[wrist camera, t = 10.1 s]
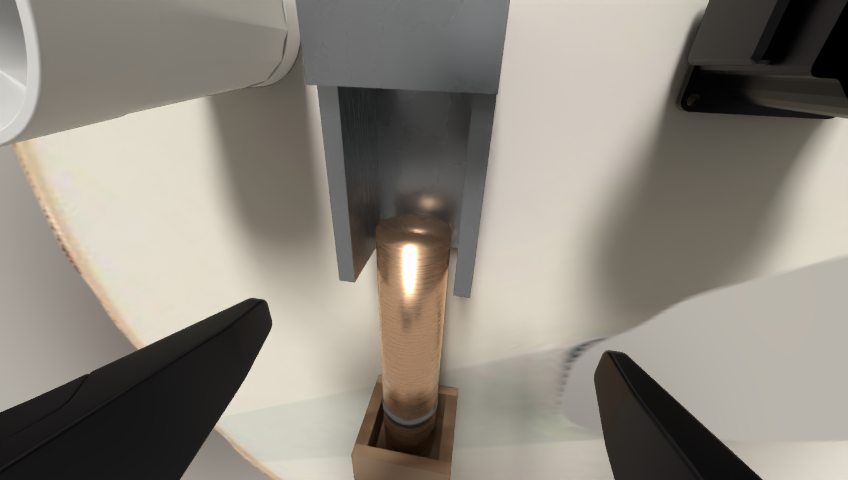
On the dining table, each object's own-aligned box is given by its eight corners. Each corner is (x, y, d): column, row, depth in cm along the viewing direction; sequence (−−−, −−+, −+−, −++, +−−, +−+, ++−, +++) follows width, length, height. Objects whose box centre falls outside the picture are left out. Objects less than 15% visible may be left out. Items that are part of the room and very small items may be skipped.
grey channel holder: (363, 9, 15) (292, -25, 10) (502, 11, 15) (513, -25, 9) (374, 229, 21) (333, 289, 16) (474, 240, 20) (469, 308, 15)
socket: (457, 388, 27) (450, 475, 22) (454, 417, 29) (446, 503, 24) (378, 375, 28) (351, 455, 22) (380, 403, 30) (355, 483, 24)
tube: (386, 210, 19) (363, 243, 15) (455, 217, 18) (447, 253, 15) (391, 408, 28) (378, 457, 25) (437, 417, 28) (430, 468, 24)
